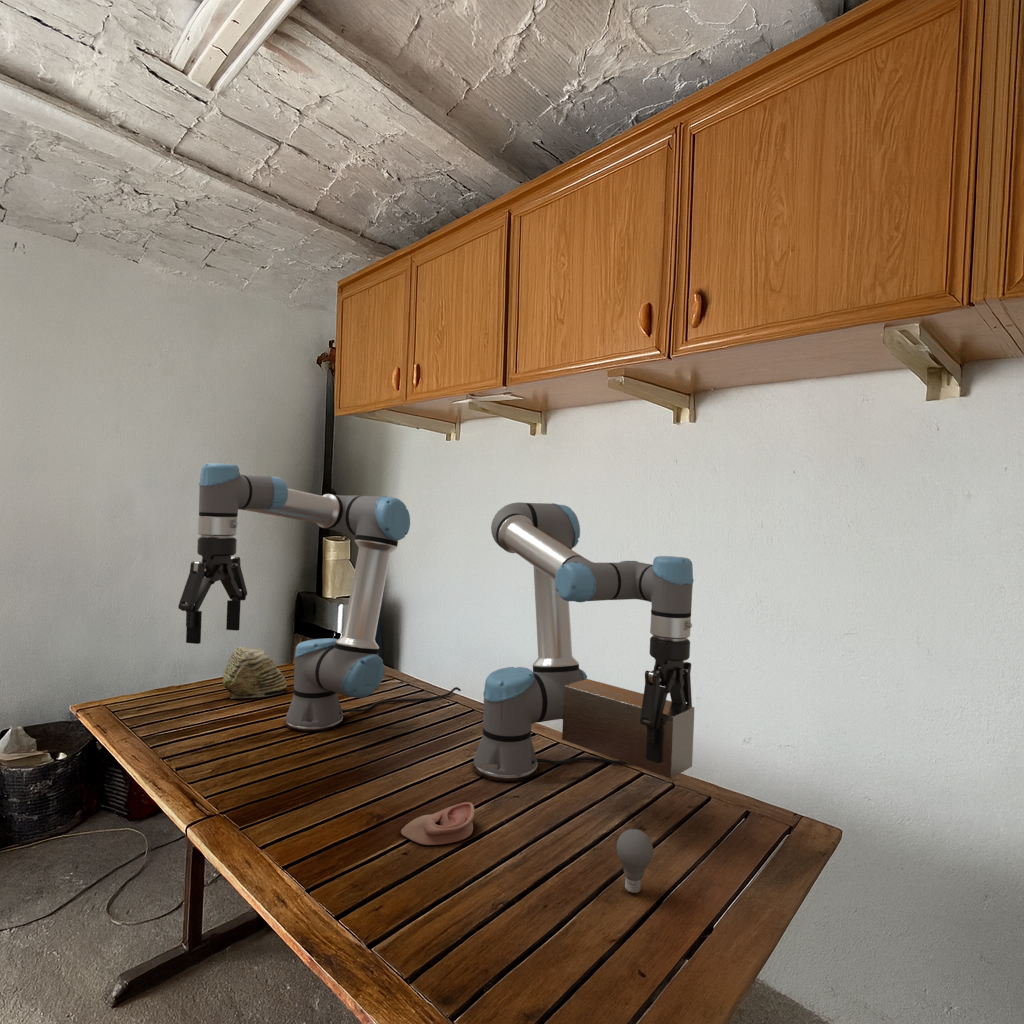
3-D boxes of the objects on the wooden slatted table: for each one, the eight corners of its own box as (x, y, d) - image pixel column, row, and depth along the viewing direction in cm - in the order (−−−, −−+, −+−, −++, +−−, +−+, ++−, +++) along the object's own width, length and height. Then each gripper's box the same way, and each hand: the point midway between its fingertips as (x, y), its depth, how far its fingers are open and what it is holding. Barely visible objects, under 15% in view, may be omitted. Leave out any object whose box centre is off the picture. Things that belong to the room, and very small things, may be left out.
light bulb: (610, 879, 108) (613, 822, 108) (644, 879, 109) (647, 822, 109) (619, 902, 102) (622, 840, 102) (655, 901, 103) (658, 840, 103)
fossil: (218, 695, 195) (220, 647, 195) (278, 685, 208) (279, 640, 207) (228, 703, 189) (230, 653, 188) (289, 692, 201) (290, 645, 201)
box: (561, 739, 134) (564, 685, 134) (585, 730, 140) (587, 678, 140) (670, 778, 116) (673, 716, 116) (692, 766, 123) (694, 707, 122)
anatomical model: (395, 819, 118) (416, 792, 129) (394, 840, 118) (415, 811, 129) (464, 829, 115) (479, 801, 126) (463, 851, 115) (479, 820, 126)
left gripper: (195, 540, 121) (191, 650, 122) (265, 534, 146) (262, 626, 146) (160, 538, 122) (156, 647, 123) (235, 533, 147) (232, 623, 148)
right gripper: (659, 648, 111) (654, 776, 112) (713, 633, 127) (708, 746, 127) (623, 640, 117) (618, 763, 117) (679, 627, 132) (674, 736, 132)
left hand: (214, 636), depth 135 cm, fingers open, 13 cm apart
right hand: (665, 754), depth 122 cm, fingers closed on box, 8 cm apart
